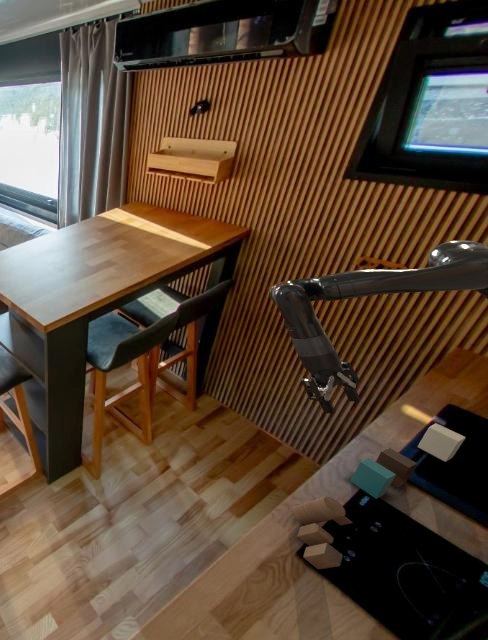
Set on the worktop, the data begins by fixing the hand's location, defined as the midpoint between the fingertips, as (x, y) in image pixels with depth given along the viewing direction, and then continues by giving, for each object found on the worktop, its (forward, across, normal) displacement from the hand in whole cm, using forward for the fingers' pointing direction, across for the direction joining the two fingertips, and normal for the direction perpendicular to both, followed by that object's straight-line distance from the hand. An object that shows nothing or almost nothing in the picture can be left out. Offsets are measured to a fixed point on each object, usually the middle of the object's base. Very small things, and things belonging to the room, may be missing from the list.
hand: (343, 407), depth 96 cm
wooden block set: (+21, -27, -3) cm, 34 cm away
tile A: (+22, +22, +2) cm, 31 cm away
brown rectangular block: (+21, +4, +1) cm, 21 cm away
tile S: (+21, -4, 0) cm, 21 cm away
